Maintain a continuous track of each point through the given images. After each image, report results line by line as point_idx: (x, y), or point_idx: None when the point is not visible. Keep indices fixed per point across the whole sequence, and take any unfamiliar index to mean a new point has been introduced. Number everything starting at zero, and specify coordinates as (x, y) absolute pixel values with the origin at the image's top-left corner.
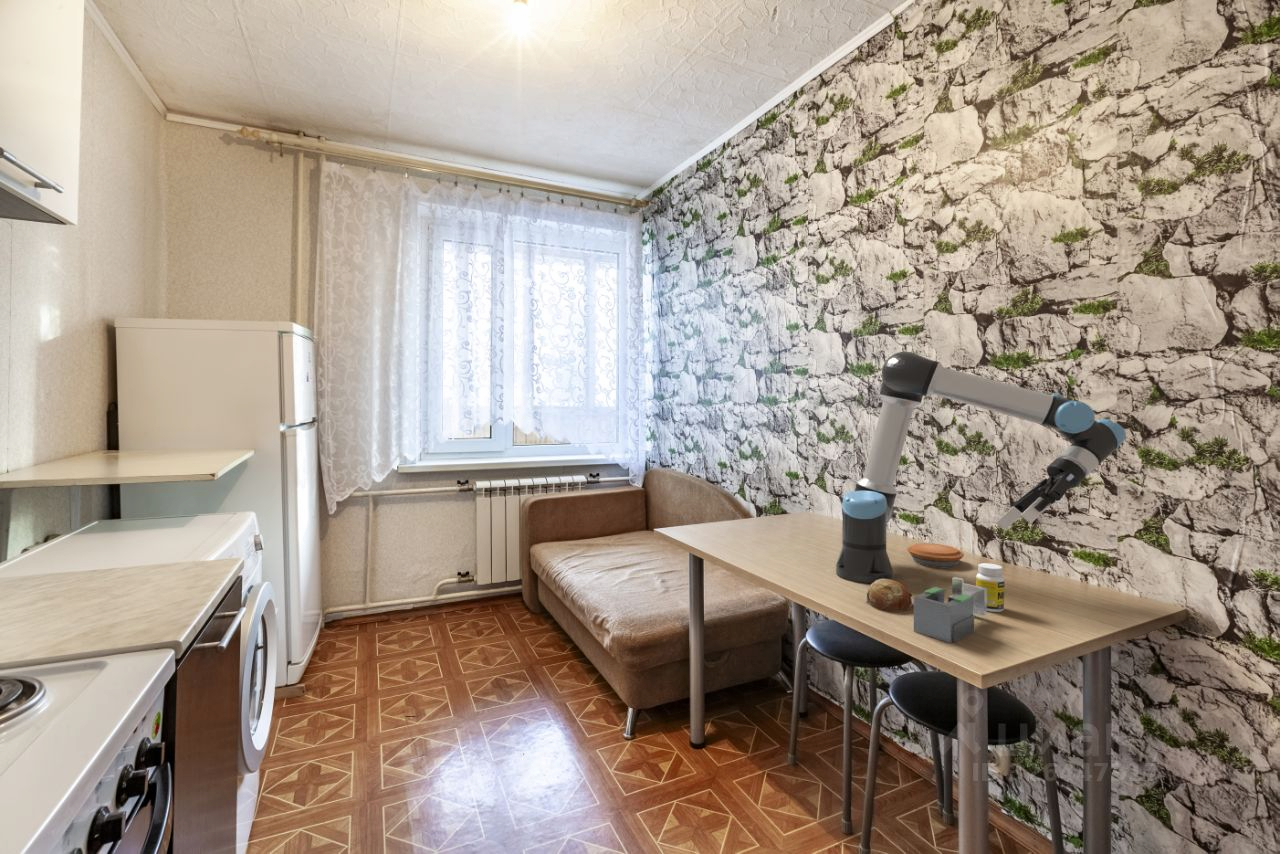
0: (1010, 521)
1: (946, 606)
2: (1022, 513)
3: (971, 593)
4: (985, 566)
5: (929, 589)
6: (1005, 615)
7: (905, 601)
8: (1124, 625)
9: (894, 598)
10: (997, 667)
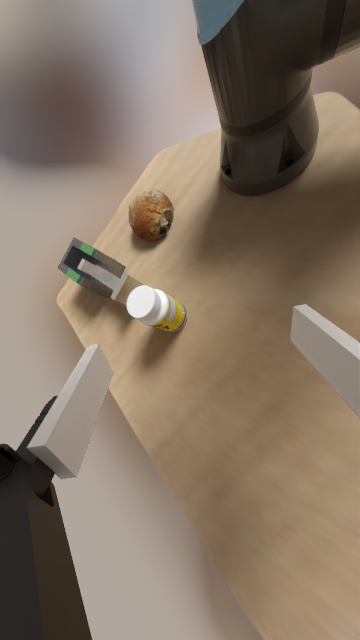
0: (315, 359)
1: (60, 264)
2: (90, 349)
3: (109, 285)
4: (135, 294)
5: (87, 245)
6: (155, 331)
7: (136, 233)
8: (159, 468)
9: (129, 223)
10: (61, 308)
